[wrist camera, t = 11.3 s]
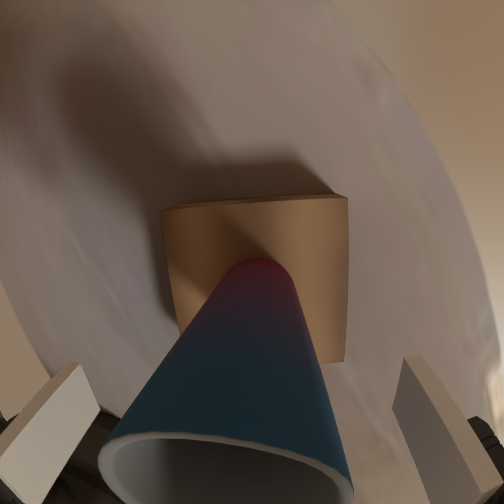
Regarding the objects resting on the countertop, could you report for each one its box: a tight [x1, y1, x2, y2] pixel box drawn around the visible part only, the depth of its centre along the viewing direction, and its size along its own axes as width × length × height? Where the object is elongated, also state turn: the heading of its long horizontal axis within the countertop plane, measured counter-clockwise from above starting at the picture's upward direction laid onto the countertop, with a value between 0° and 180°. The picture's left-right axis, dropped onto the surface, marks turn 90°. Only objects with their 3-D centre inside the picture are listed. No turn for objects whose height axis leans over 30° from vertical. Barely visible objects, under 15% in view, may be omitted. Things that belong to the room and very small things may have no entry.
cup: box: [98, 258, 354, 504], centre depth 13 cm, size 7×7×15 cm
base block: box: [160, 193, 349, 364], centre depth 22 cm, size 12×12×4 cm
